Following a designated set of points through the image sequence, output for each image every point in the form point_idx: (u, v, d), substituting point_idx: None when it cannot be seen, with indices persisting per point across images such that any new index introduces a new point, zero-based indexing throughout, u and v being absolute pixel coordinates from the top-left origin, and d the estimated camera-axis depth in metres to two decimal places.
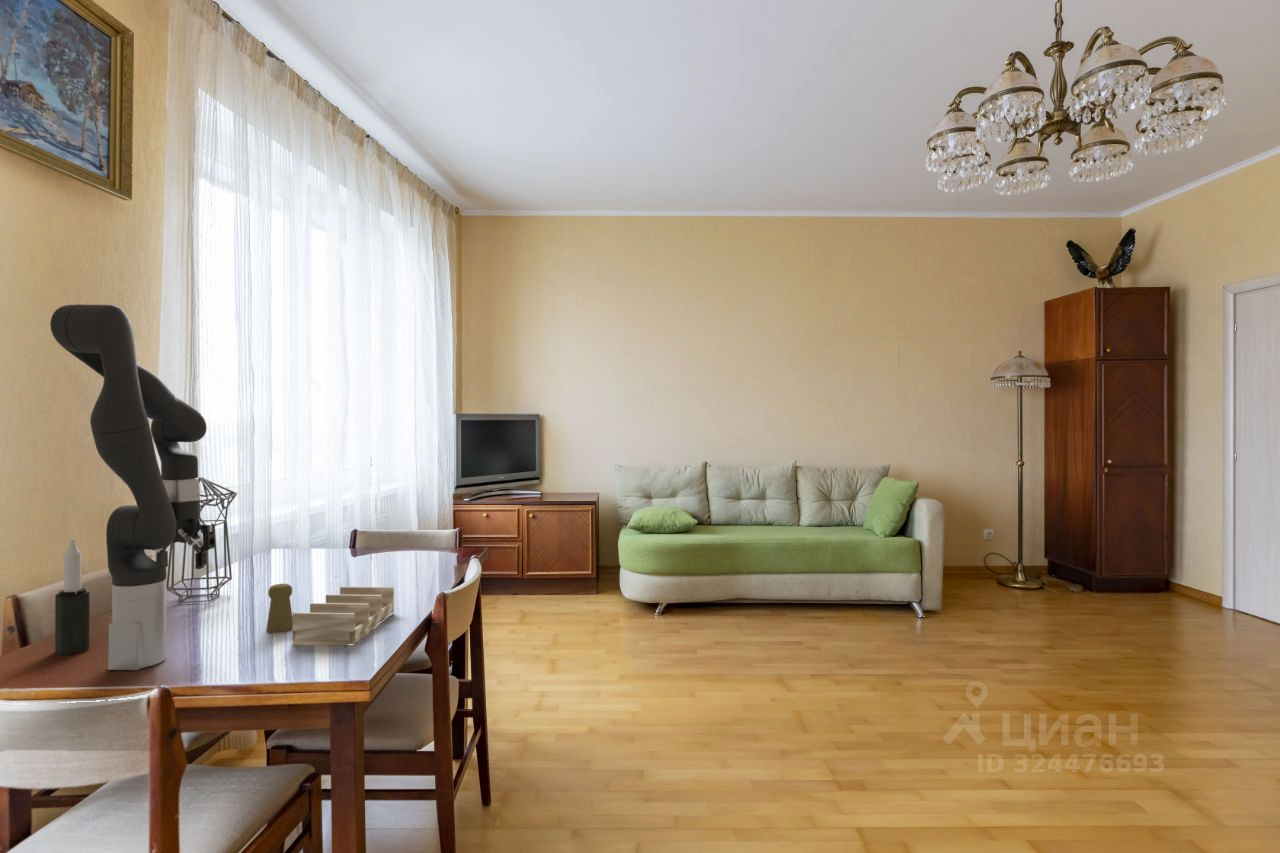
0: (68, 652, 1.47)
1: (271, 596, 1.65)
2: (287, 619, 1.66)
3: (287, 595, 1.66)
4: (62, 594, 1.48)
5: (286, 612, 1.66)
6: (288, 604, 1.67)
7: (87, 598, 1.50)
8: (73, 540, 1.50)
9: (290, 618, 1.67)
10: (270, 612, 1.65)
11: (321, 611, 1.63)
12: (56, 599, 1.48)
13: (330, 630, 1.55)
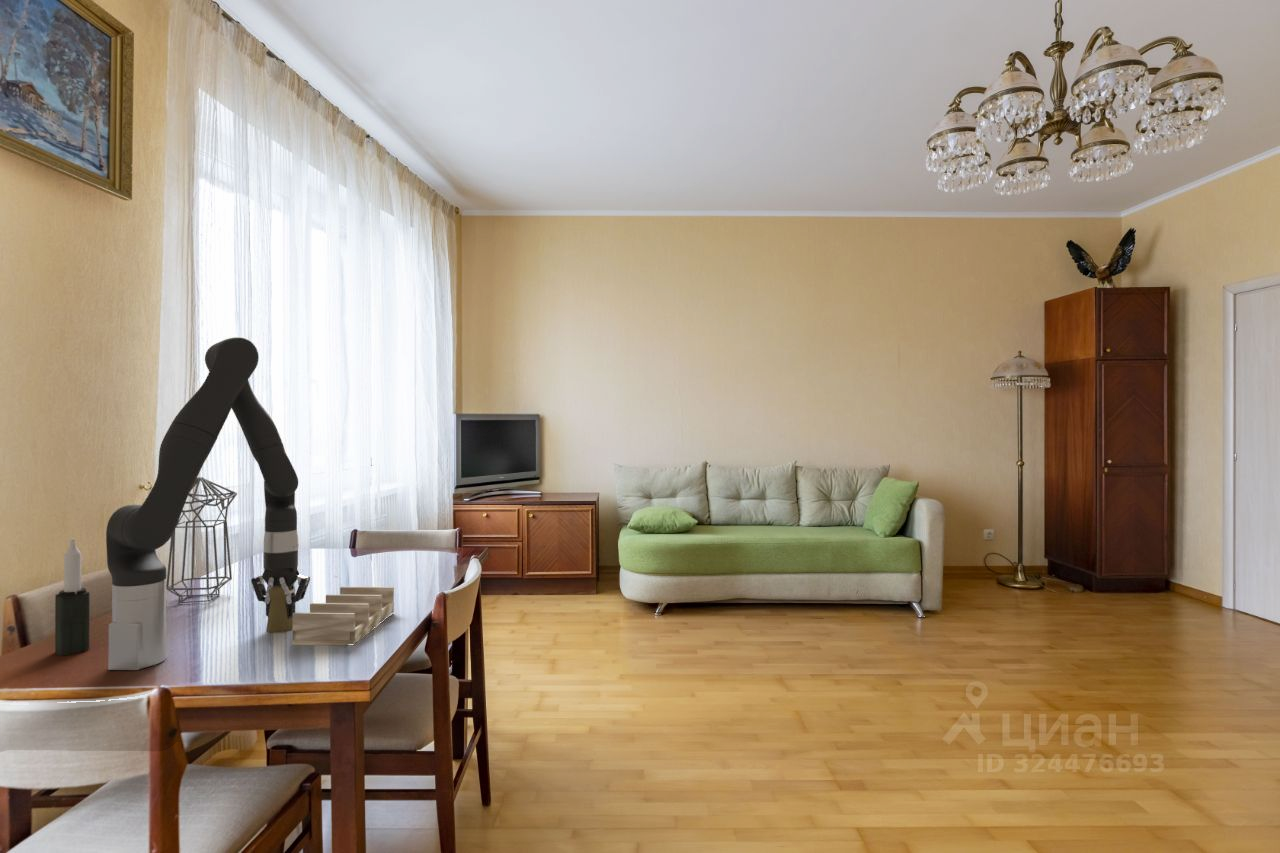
0: (68, 652, 1.47)
1: (271, 596, 1.65)
2: (287, 618, 1.66)
3: None
4: (62, 594, 1.48)
5: (286, 612, 1.66)
6: None
7: (87, 598, 1.50)
8: (73, 540, 1.50)
9: None
10: (270, 612, 1.65)
11: (321, 611, 1.63)
12: (56, 599, 1.48)
13: (330, 630, 1.55)
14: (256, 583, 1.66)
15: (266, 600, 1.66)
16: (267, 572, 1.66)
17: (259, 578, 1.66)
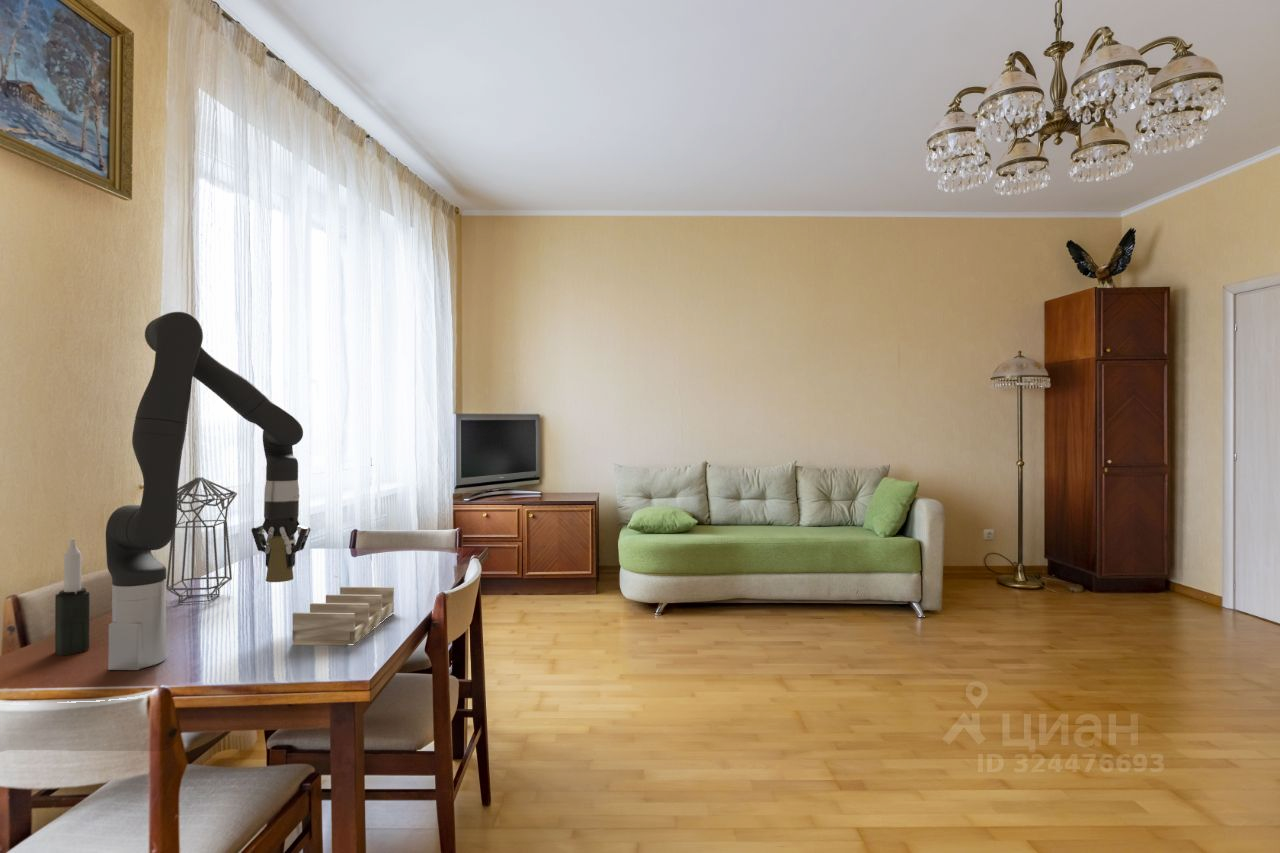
0: (68, 652, 1.47)
1: (271, 545, 1.64)
2: (286, 569, 1.65)
3: None
4: (62, 594, 1.48)
5: None
6: None
7: (87, 598, 1.50)
8: (73, 540, 1.50)
9: None
10: (270, 562, 1.65)
11: (321, 611, 1.63)
12: (56, 599, 1.48)
13: (330, 630, 1.55)
14: (256, 533, 1.65)
15: (266, 550, 1.65)
16: (267, 522, 1.66)
17: (259, 528, 1.66)
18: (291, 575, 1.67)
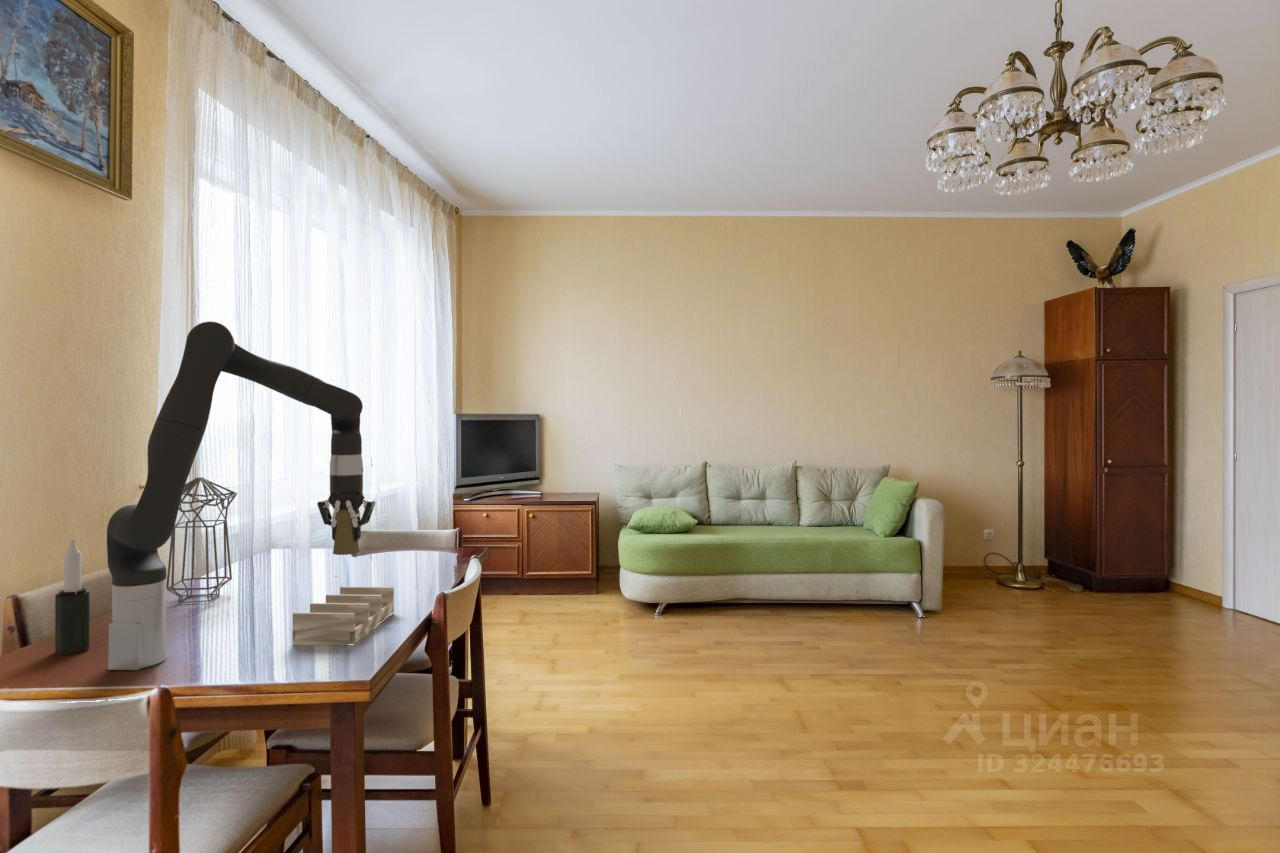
0: (68, 652, 1.47)
1: (338, 519, 1.66)
2: (353, 541, 1.67)
3: None
4: (62, 594, 1.48)
5: None
6: None
7: (87, 598, 1.50)
8: (73, 540, 1.50)
9: None
10: (337, 535, 1.66)
11: (321, 611, 1.63)
12: (56, 599, 1.48)
13: (330, 630, 1.55)
14: (322, 506, 1.67)
15: (332, 523, 1.67)
16: (333, 496, 1.67)
17: (325, 502, 1.68)
18: (357, 548, 1.68)
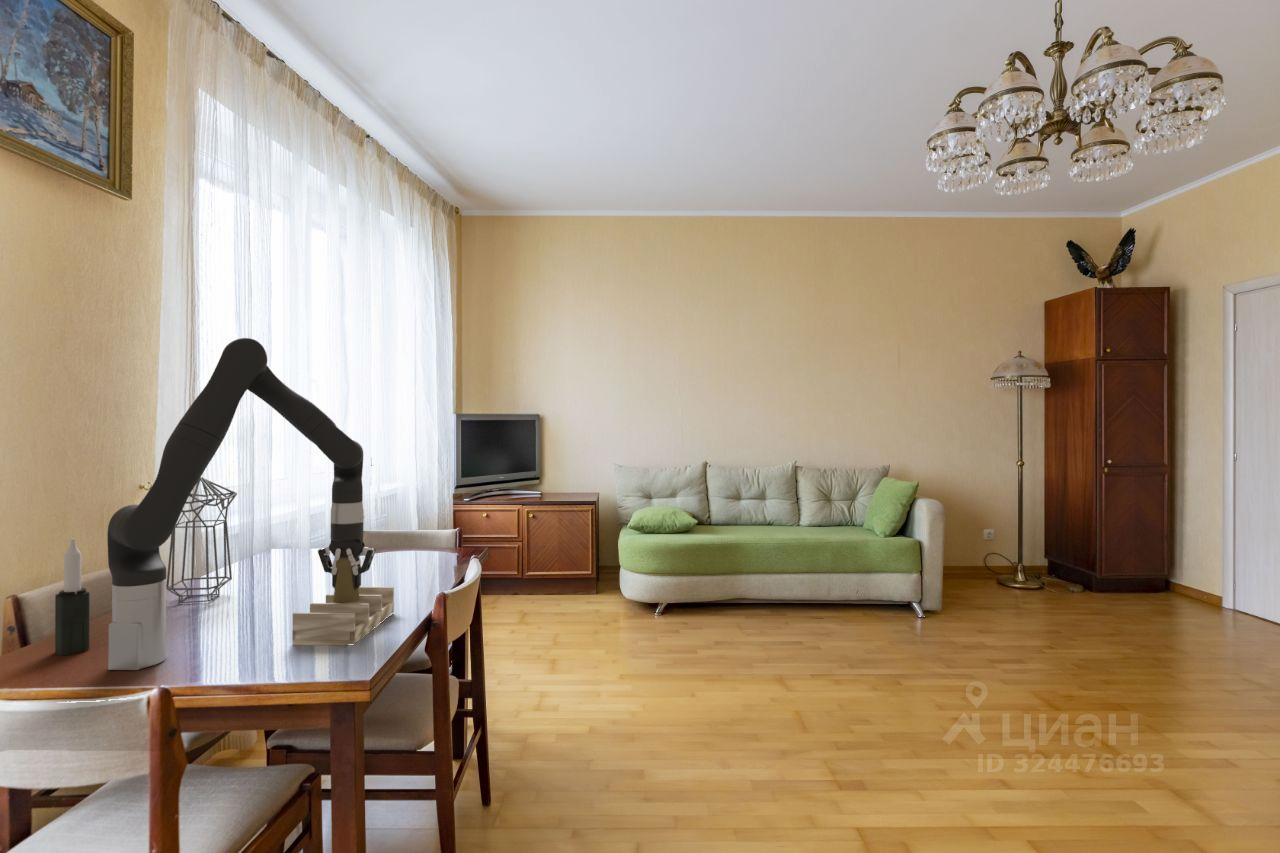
0: (68, 652, 1.47)
1: (338, 567, 1.66)
2: (353, 589, 1.67)
3: None
4: (62, 594, 1.48)
5: None
6: None
7: (87, 598, 1.50)
8: (73, 540, 1.50)
9: None
10: (337, 583, 1.66)
11: (321, 611, 1.63)
12: (56, 599, 1.48)
13: (330, 630, 1.55)
14: (323, 554, 1.67)
15: (333, 571, 1.67)
16: (334, 543, 1.67)
17: (325, 549, 1.67)
18: (357, 595, 1.68)
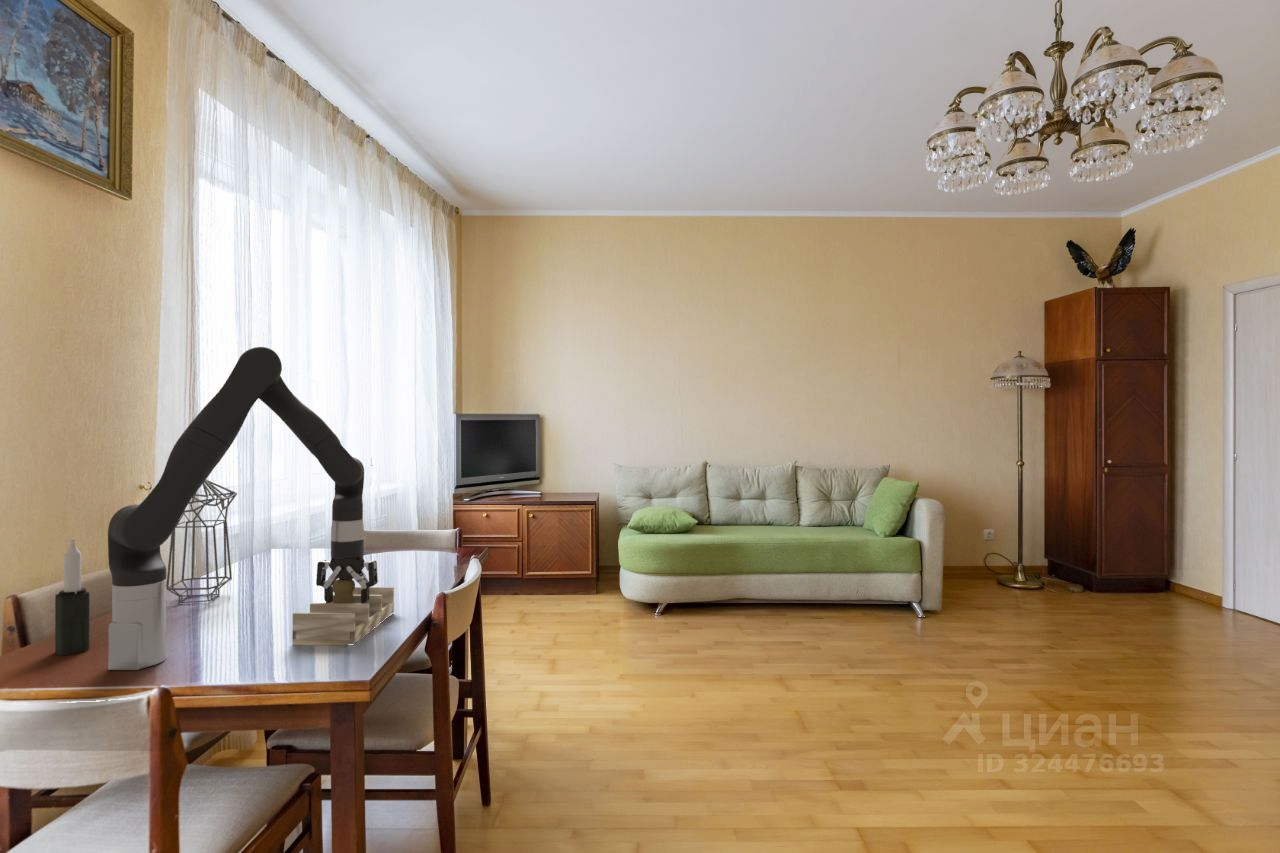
0: (68, 652, 1.47)
1: (336, 591, 1.65)
2: None
3: (351, 590, 1.67)
4: (62, 594, 1.47)
5: None
6: (352, 599, 1.68)
7: (87, 598, 1.50)
8: (73, 540, 1.50)
9: None
10: None
11: (321, 611, 1.63)
12: (56, 599, 1.48)
13: (330, 630, 1.55)
14: (321, 568, 1.67)
15: (325, 585, 1.67)
16: (335, 562, 1.67)
17: (325, 564, 1.67)
18: None
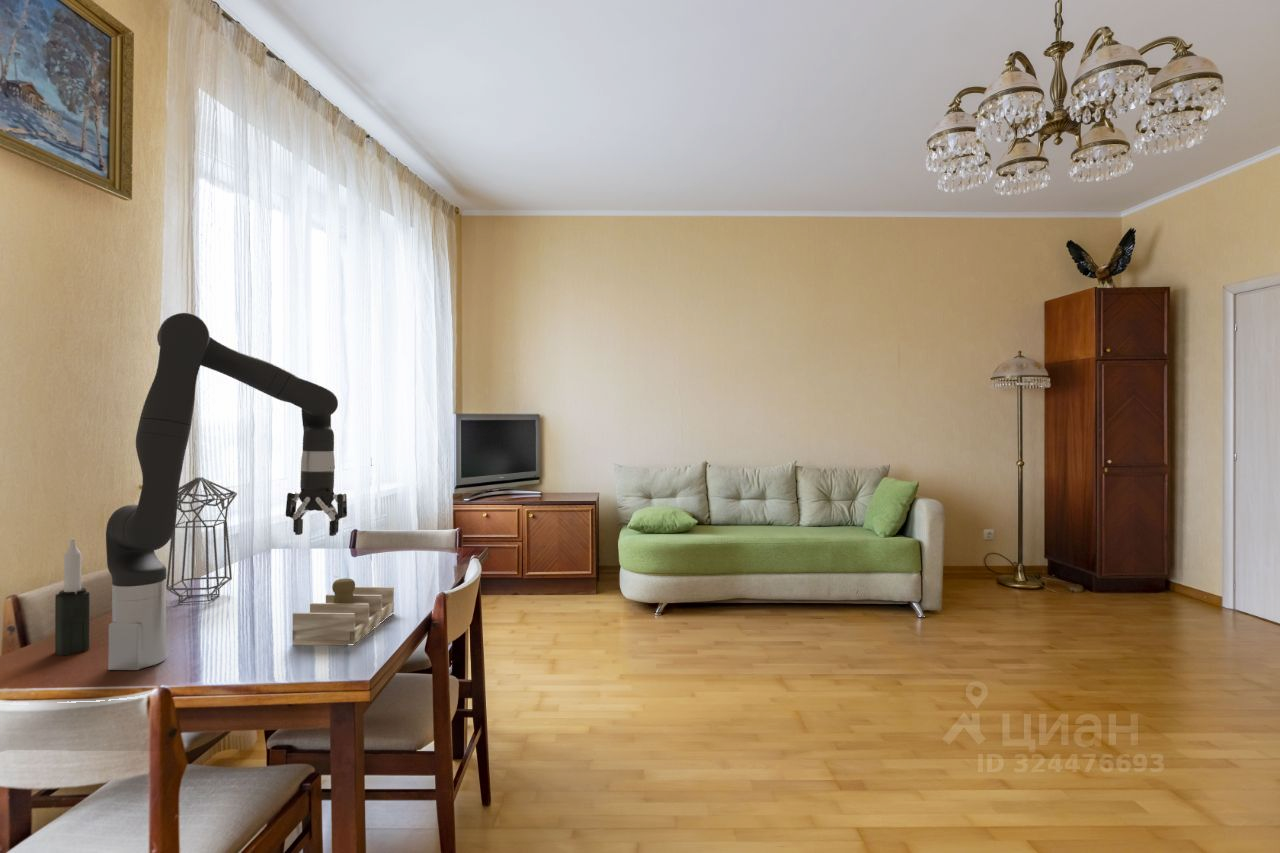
0: (68, 652, 1.47)
1: (336, 591, 1.65)
2: None
3: (351, 590, 1.67)
4: (62, 594, 1.48)
5: None
6: (352, 599, 1.68)
7: (87, 598, 1.50)
8: (73, 540, 1.50)
9: None
10: None
11: (321, 611, 1.63)
12: (56, 599, 1.48)
13: (330, 630, 1.55)
14: (291, 499, 1.66)
15: (294, 516, 1.66)
16: (305, 493, 1.66)
17: (295, 495, 1.67)
18: None
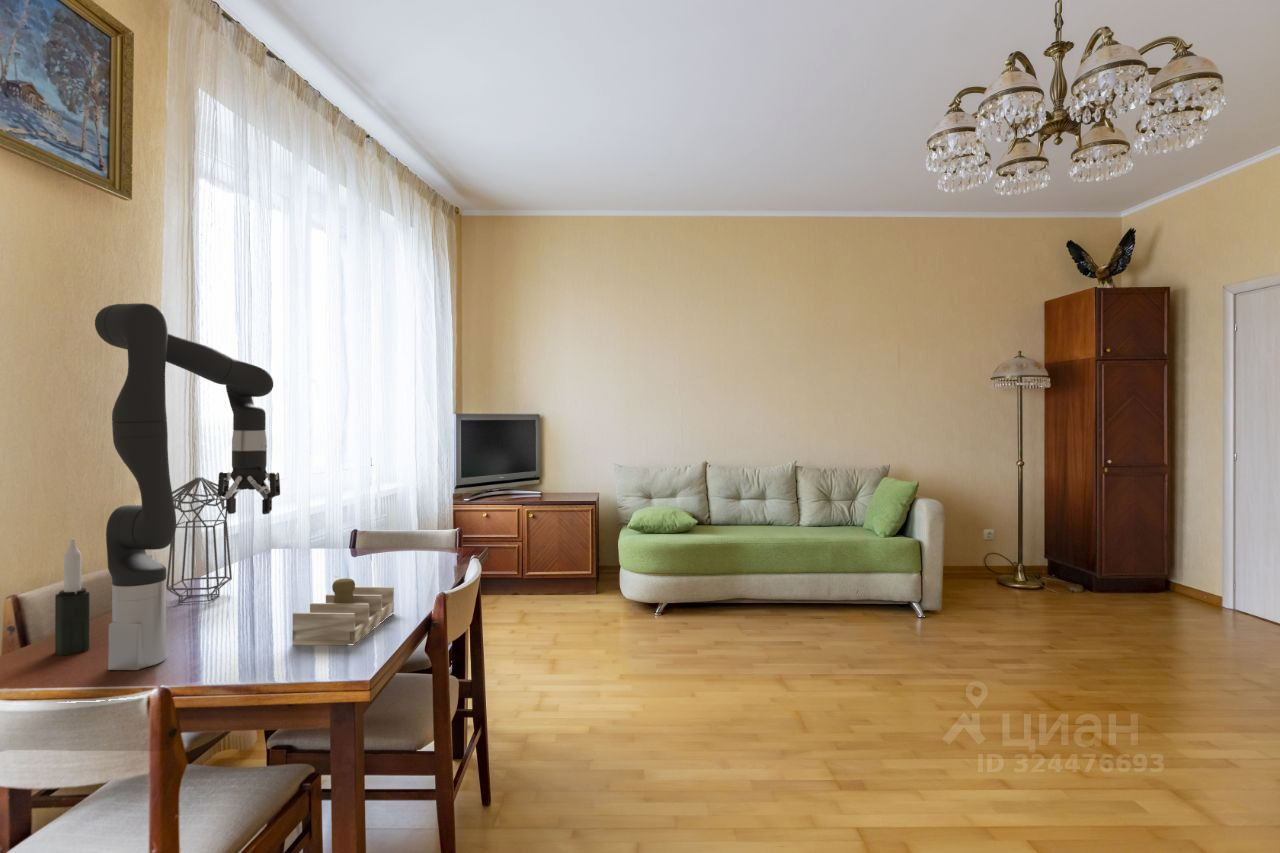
0: (68, 652, 1.47)
1: (336, 591, 1.65)
2: None
3: (351, 590, 1.67)
4: (62, 594, 1.48)
5: None
6: (352, 599, 1.68)
7: (87, 598, 1.50)
8: (73, 540, 1.50)
9: None
10: None
11: (321, 611, 1.63)
12: (56, 599, 1.48)
13: (330, 630, 1.55)
14: (222, 478, 1.67)
15: (226, 495, 1.67)
16: (237, 472, 1.68)
17: (227, 474, 1.68)
18: None
